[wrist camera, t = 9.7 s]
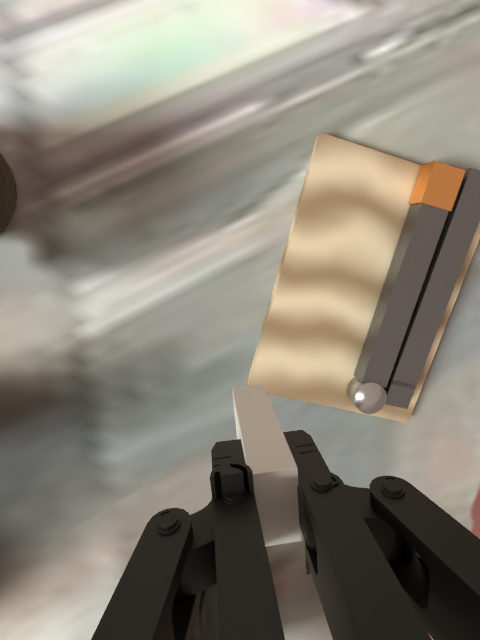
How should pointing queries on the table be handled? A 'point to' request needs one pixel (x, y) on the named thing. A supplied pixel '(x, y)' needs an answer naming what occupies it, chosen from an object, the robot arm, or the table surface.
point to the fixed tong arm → (436, 291)
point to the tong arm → (404, 282)
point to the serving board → (338, 275)
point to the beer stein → (6, 193)
